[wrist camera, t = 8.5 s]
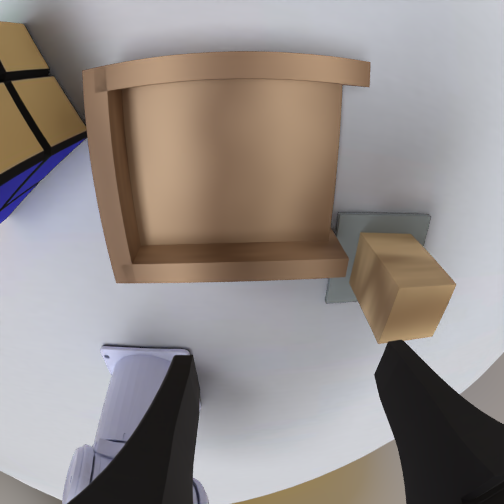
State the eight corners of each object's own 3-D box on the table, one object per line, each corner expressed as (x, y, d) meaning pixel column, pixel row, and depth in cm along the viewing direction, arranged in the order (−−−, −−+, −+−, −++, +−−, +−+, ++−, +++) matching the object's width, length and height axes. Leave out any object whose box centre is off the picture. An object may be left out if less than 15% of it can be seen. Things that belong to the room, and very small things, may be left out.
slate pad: (405, 293, 23) (407, 296, 23) (325, 300, 23) (326, 303, 22) (428, 214, 20) (430, 216, 19) (338, 212, 19) (340, 215, 19)
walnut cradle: (341, 64, 15) (370, 62, 11) (327, 242, 20) (345, 277, 17) (113, 71, 14) (82, 70, 11) (134, 247, 20) (116, 283, 16)
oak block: (396, 281, 22) (432, 336, 17) (348, 282, 22) (378, 343, 16) (410, 233, 20) (456, 284, 15) (360, 232, 20) (399, 288, 14)
